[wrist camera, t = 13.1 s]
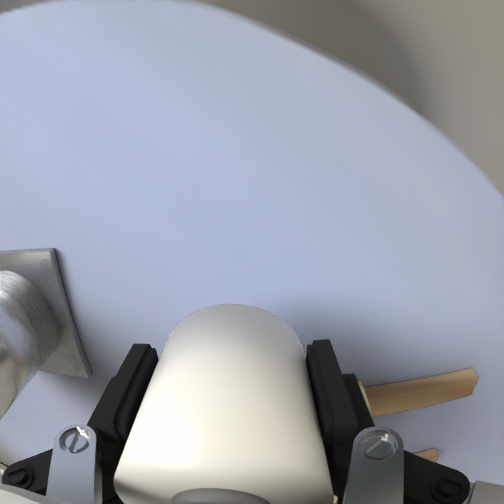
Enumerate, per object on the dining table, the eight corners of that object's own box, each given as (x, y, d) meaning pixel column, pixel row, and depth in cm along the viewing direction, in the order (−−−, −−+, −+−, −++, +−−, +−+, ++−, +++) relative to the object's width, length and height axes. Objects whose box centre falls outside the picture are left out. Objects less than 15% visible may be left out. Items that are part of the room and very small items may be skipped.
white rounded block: (303, 409, 12) (323, 547, 6) (178, 412, 12) (147, 543, 6) (306, 299, 11) (353, 459, 4) (151, 305, 11) (72, 451, 5)
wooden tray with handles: (426, 462, 20) (435, 486, 17) (167, 479, 21) (160, 506, 18) (474, 360, 16) (495, 386, 13) (126, 381, 17) (110, 413, 14)
